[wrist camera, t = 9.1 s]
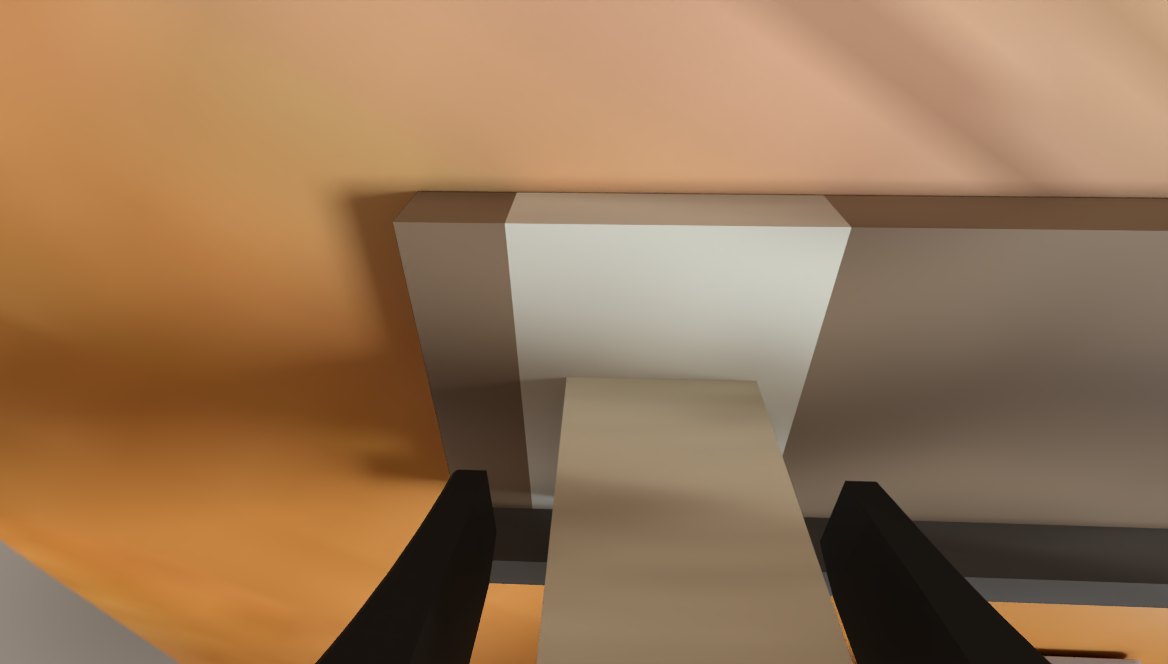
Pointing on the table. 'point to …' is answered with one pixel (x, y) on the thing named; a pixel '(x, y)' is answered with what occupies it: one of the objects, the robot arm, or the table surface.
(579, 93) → the table surface
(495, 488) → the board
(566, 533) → the block
